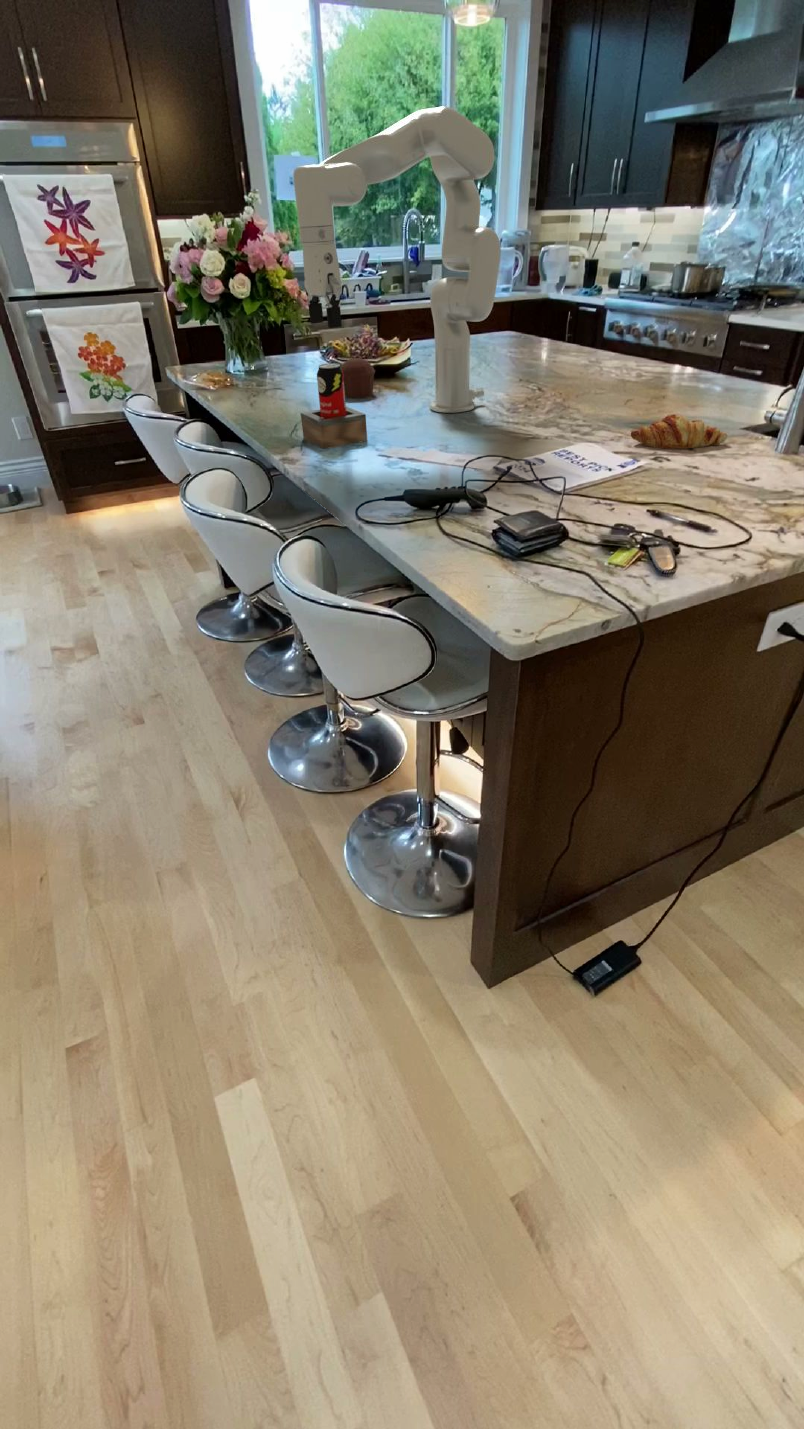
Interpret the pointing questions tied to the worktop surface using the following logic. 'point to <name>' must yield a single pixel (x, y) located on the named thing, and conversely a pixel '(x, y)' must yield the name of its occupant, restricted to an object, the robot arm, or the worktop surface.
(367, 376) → the muffin
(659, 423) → the croissant
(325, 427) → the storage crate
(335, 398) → the beverage can
